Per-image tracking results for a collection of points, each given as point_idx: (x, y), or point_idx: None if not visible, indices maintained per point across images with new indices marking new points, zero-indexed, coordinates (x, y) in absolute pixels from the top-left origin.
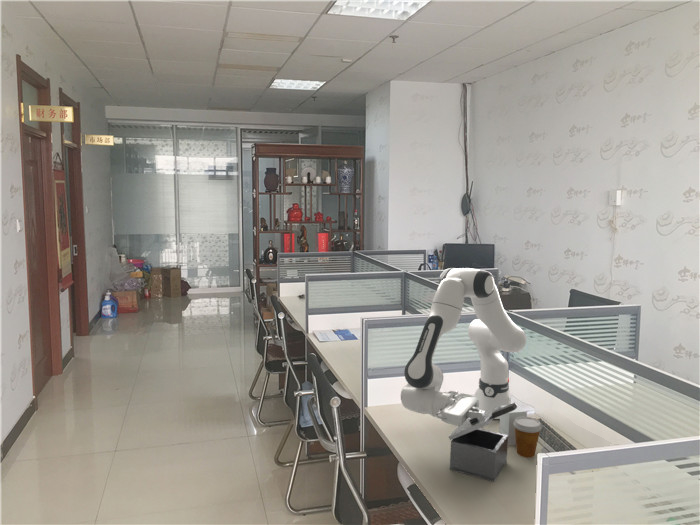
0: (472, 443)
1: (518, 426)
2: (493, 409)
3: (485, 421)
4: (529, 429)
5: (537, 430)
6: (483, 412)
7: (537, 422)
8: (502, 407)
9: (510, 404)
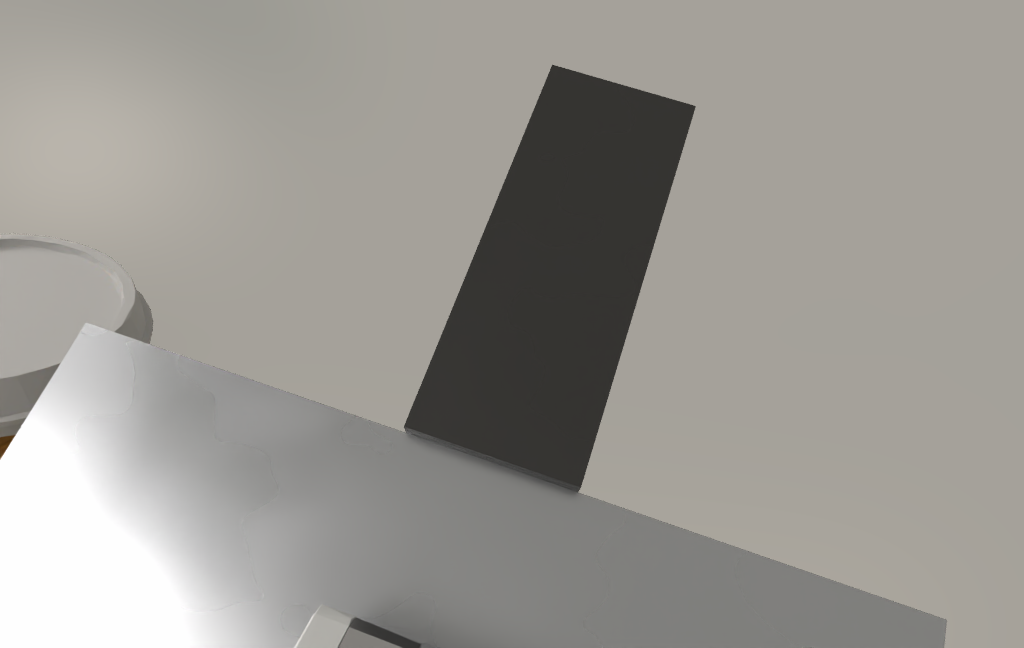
0: None
1: None
2: (89, 453)
3: (915, 645)
4: (139, 335)
5: (142, 298)
6: (416, 646)
7: (9, 251)
8: (480, 256)
9: (560, 127)
